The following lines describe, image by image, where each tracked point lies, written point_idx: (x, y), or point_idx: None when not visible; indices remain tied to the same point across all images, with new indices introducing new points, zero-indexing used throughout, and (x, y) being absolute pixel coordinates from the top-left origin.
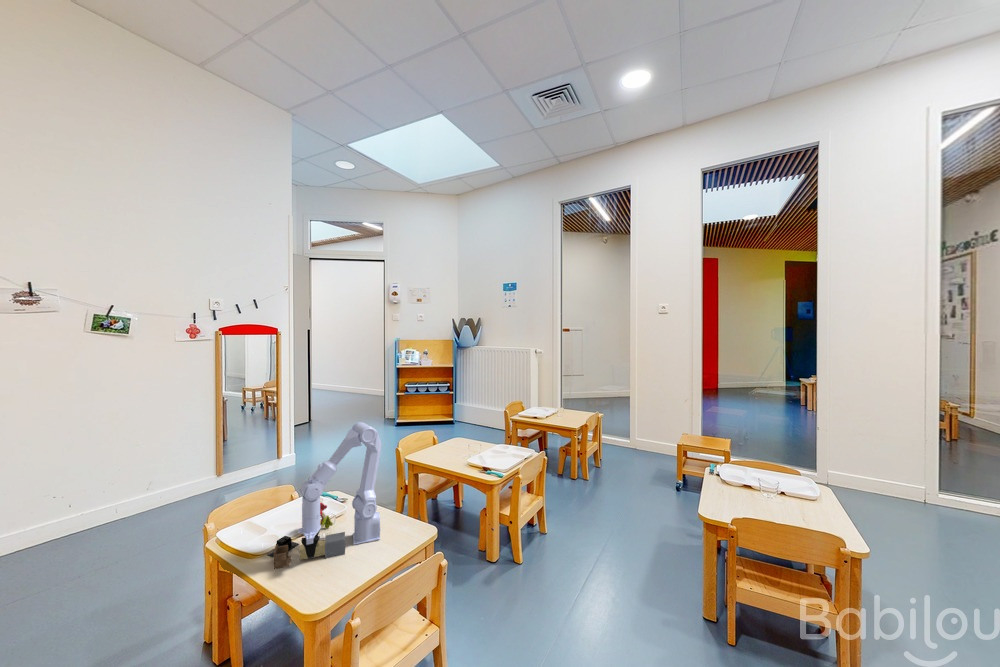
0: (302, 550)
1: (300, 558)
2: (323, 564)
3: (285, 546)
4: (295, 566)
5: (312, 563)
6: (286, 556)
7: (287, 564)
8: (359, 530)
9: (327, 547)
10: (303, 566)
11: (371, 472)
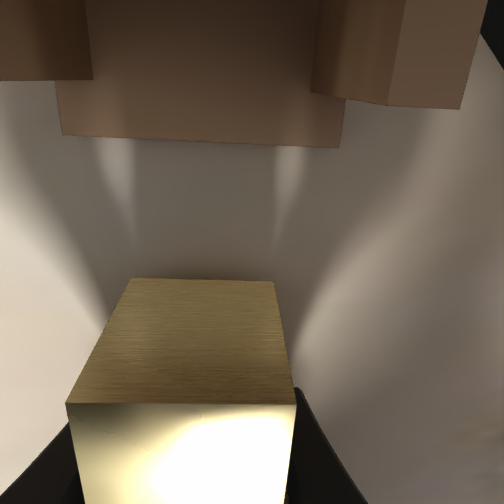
0: (83, 422)
1: (128, 297)
2: (18, 472)
3: (404, 15)
4: (46, 215)
5: (65, 389)
6: (316, 66)
7: (64, 101)
8: None
9: None
10: (23, 307)
11: None
